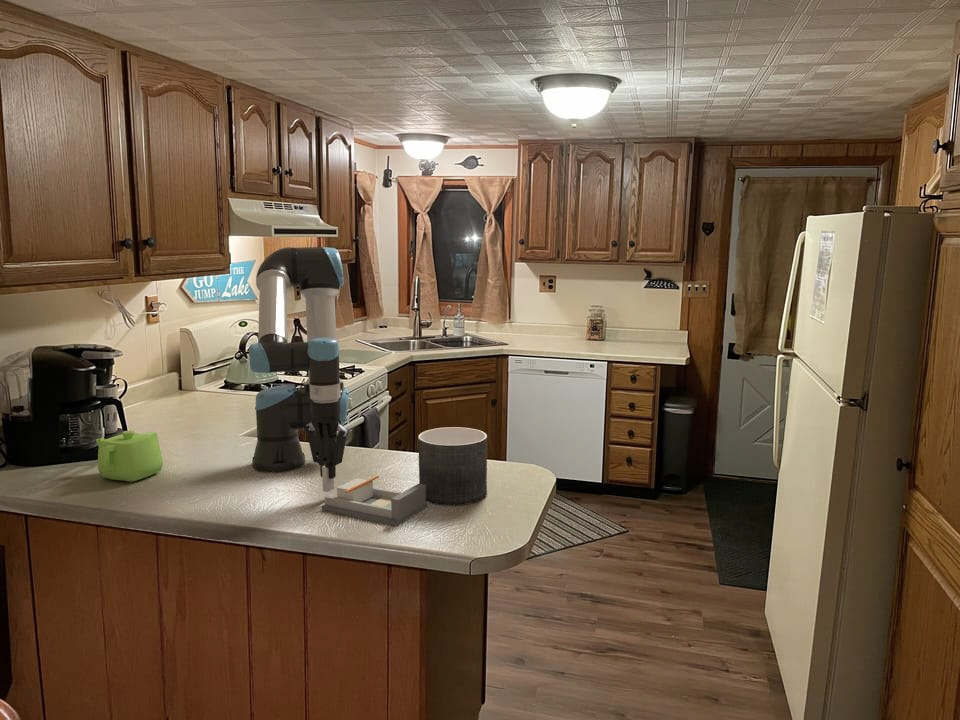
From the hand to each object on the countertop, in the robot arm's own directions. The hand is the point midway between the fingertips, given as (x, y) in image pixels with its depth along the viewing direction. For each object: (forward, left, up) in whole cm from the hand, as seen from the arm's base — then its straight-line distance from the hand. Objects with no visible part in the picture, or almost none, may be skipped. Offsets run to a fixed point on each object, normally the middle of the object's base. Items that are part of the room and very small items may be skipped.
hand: (328, 489), depth 186 cm
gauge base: (+14, 0, -3) cm, 15 cm away
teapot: (-64, -11, -3) cm, 65 cm away
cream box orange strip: (+8, 0, -1) cm, 8 cm away
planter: (+26, +18, -3) cm, 32 cm away
